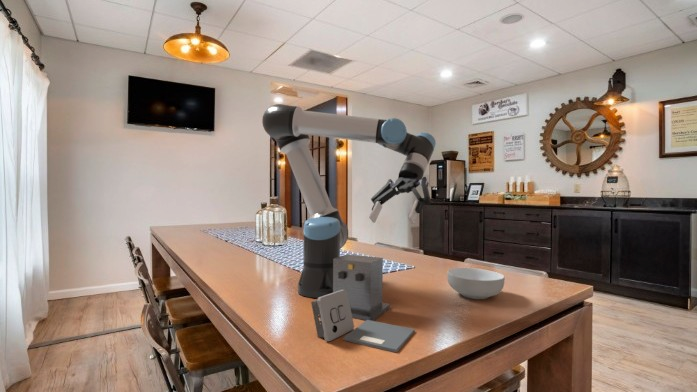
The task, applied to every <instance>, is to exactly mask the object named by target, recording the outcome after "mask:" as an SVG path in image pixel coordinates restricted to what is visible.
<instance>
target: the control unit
mask: <svg viewBox="0 0 697 392" xmlns="http://www.w3.org/2000/svg"><path fill="white" fill-rule="evenodd" d="M383 259H384V258H383V257H378V256H377V257H376V256H370V255H369V256H368V255H358V254H348V253H347V254H344V255H340V257H337V258H334V259H333V293H334V292H337V291H340V290H346V291H347V294H348V299H349V304H350V309H351V313H352V318H353V319H358V320H363V321H366V320H371V321H375V320H376V319H378V318H379V317H380V316H381V315H383V314H384V313H385V312H386V311H388V310H389V309H391V304H390V303H387V302H383V286H384V285H383V280H384V279H383V278H384V276H383V274H384V272H383V269H384V268H383V267H384V265H383V264H384V263H383V262H384V260H383Z"/></svg>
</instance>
